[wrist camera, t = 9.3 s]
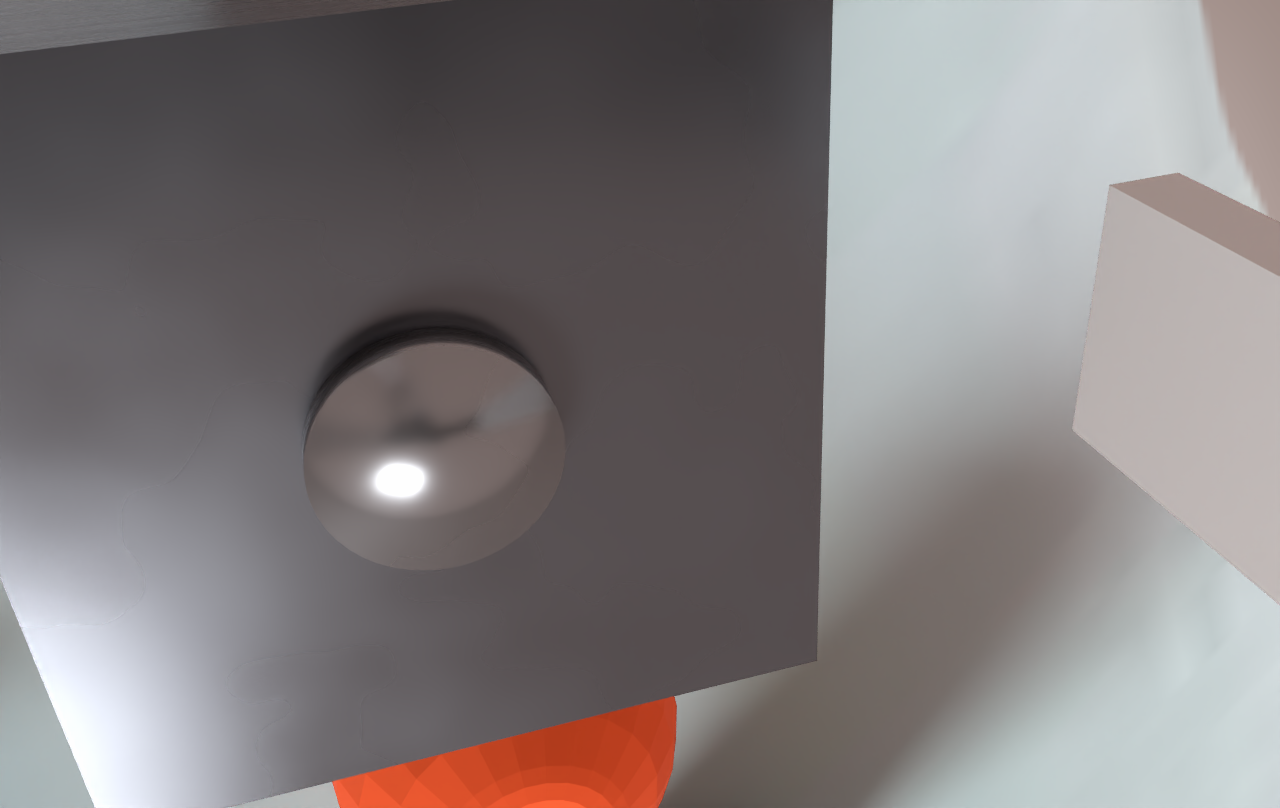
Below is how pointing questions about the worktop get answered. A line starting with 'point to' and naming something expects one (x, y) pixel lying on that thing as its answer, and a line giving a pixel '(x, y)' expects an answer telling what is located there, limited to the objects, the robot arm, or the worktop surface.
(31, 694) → the worktop surface
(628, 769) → the clementine
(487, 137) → the grey cube with dome
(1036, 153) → the worktop surface
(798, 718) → the worktop surface
